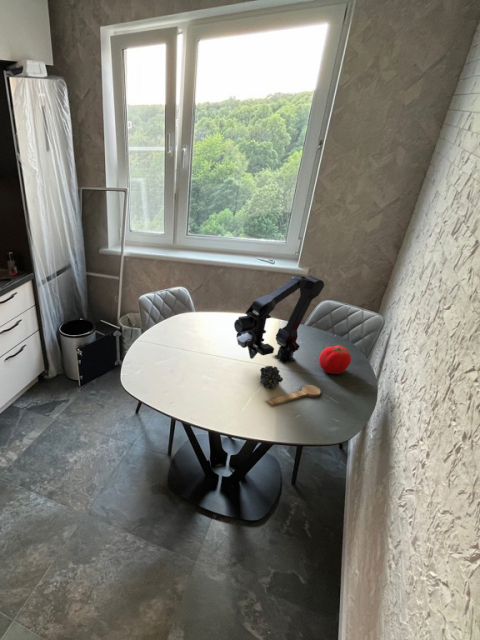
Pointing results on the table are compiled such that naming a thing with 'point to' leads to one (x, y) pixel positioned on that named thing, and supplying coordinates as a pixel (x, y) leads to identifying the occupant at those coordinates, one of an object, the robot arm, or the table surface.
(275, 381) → the fruit
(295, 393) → the spoon
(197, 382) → the table surface
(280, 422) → the table surface
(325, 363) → the tomato
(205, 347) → the table surface
